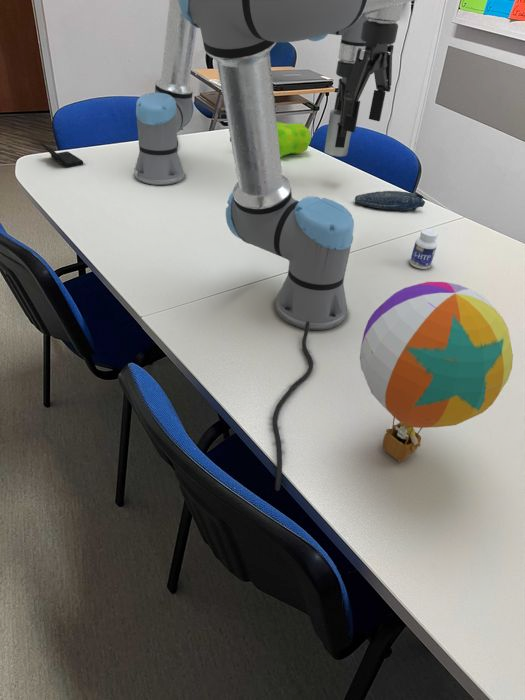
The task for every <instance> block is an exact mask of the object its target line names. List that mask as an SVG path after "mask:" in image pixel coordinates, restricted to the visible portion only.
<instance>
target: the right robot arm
mask: <svg viewBox="0 0 525 700" xmlns="http://www.w3.org/2000/svg"><path fill="white" fill-rule="evenodd" d="M413 1H414V0H178V2H179V6H180V9H181V12H182V14H183V16H184V17H185V19H186V20H188V21H189V22H190V23H191V24H192V25H193V26H195V27H197V29H199V30H200V33H201V39H202V43H203V49H204V52H205V54H206V55H208V56H209V57H210V58H212V59H213V60H214V61H216V66H217V71H218V77H219V82H220V88H221V93H222V100H223V104H224V109H225V115H226V121H227V127H228V131H229V139H230V138H231V142H230V144H231V148H232V154H233V160H234V165H235V170H236V174H237V175H236V176H237V180H238V181H237V183H236V184H235V185H234V187H233V189H232V191H231V193H230V194H229V196H228V199H227V202H226V203H227V204H228V205H227V207H225V220H226V224H227V227H228V229H229V231H230V232H231V234H232V235H234V236H235V238H238V239H239V240H242V242H244V243H246V244H249V245H252V246H255V247H257V248H259V249H262V250H264V251H266V252H269V253H270V254H273V255H276V256H278V257H281V258H282V259H284V260H288V261H289V262H288V263H289V264H288V270H287V271H288V272H287V275H286V278H285V279H284V282H283V283H282V285H281V287H280V290H279V291H278V294H277V296H276V300H275V311H276V313H277V315H278V316H279V317H280V318H281V319H282V320H283V321H284V322H286V323H287V324H289V325H291V326H293V327H296V328H300V329H304V331H303V332H304V333H303V336H302V341H301V347H302V351H303V353H304V355H305V357H306V358H307V361H308V368H307V371H306V372H305V373H304V374H303V375H302V376H301V377H299V378H298V379H297V380H296V381H295V382H293V384H292V385H291V386H290V387H289V388H288V390H287V391H286V392H285V393H284V395H283V396H282V397H281V398H280V399H279V401H278V403H277V404H276V406H275V408H274V411H273V414H272V430H273V433H274V434H273V435H274V439H275V443H276V445H275V446H276V474H275V484H274V489H275V491H276V492H279V491H280V490H281V486H282V474H283V473H282V472H283V451H282V449H283V447H282V441H281V435H280V432H279V427H278V419H279V418H278V417H279V414H280V410H281V408H282V406H283V404H285V401H287V399H288V398H289V397H290V395H292V393H293V392H294V391H295V389H297V387H298V386H299V385H300V384H302V383H303V382H304V381H305V380H307V378H308V377H309V376H310V375H311V374H312V371H313V368H314V361H313V358H312V356H311V354H310V353H309V350H308V348H307V339H308V335H309V330H310V331H324V330H325V331H326V330H329V329H333V328H336V327H337V326H339V325H340V324H342V323H343V322H344V320H345V318H346V315H347V310H348V305H347V297H346V292H345V286H344V280H345V275H346V271H347V267H348V262H349V257H350V253H351V247H352V244H353V242H354V241H353V240H354V230H355V229H354V228H355V221H354V218H353V215H352V214H351V211H349V210H348V208H346V207H345V206H344V205H342V204H340V202H339V203H338V202H337V201H334V200H332V199H329V198H325V197H322V198H320V197H318V196H308V197H304V198H303V197H302V199H300V200H298V199H295V198H293V194H292V185H291V182H290V180H289V178H288V177H286V176H285V175H284V174H283V171H282V170H283V169H282V161H281V157H280V150H279V140H278V131H277V122H278V120H277V113H276V103H275V92H274V83H273V82H274V81H273V73H272V63H271V53H270V52H271V50H272V49H273V48H274V47H275V46H276V44H277V43H293V42H300V41H306V40H308V39H311V38H315V37H319V36H323V35H326V34H328V35H331V34H330V33H334V32H337V31H340V30H343V29H346V28H348V27H350V26H352V25H353V24H354V23H356V22H357V21H358V19H359V18H360V17H361V16H362V15H365V17H366V18H367V20H365V21H364V22H363V27H362V33H361V39H362V40H363V41H365V42H366V47H365V49H361V48H359V49H358V51H357V55H356V60H355V63H354V66H353V69H352V72H351V75H350V77H349V80H348V83H347V86H346V89H345V92H344V95H343V97H344V99H347V100H348V102H347V108H346V115H345V121H344V127H343V130H346V131H350V132H351V133H355V132H356V128H357V122H358V116H359V112H360V107H361V106H360V105H361V101H360V100H359V99H360V98H361V95H362V94H363V91H364V89H365V87H366V85H367V83H368V81H369V79H370V76H371V75H374V76H373V77H374V81H375V82H374V83H375V88H376V89H374V90H373V94H372V98H371V104H370V110H369V115H368V120H371V121H375V122H381V117H382V112H383V107H384V104H385V103H384V102H385V97H386V93H389V92H390V91H391V89H392V87H391V86H392V81H393V80H392V78H393V76H392V75H393V55H394V54H393V52H394V44H395V42H396V40H397V35H398V29H399V25H398V22H399V21H400V20H401V17H402V11H403V7H404V4H406V3H410V2H413Z"/></svg>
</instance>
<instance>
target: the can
mask: <svg viewBox="0 0 525 700" xmlns="http://www.w3.org/2000/svg"><path fill="white" fill-rule="evenodd" d="M340 117H341V109H334V108H333V109H331V110H330V111H329V119H328V126H327V130H326V138H325V143H324V144H325V145H324V151H323V152H324V153H325V154H327V155H329V156H331V157H346V156H347V155H348V152H349V148H350V141H351V138H352V137H351V136H352V132H350V131H347V134H346V139H345V145H344V148H340V147H335V144H336V137H337V131H338V125H337V123H340Z"/></svg>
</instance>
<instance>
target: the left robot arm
mask: <svg viewBox="0 0 525 700" xmlns="http://www.w3.org/2000/svg"><path fill="white" fill-rule="evenodd" d="M167 10H168V11H167V21H166V28H165V39H164V47H163V48H164V49H163V57H162V58H163V59H162V69H161V77H160V78H158V79H157V80H156V81H155V84H154V85H155V87H154V92H149V94H148V93H145V94H143V95H141V96H139V97H138V98H137V100H136V103H135V105H136V106H135V107H136V108H135V116H136V125H137V126H136V127H137V137H138V156H137V160H136V164H135V167H134V168H133V173H134V176H135V179H136V180H137V181H139V182H141V183H144V184H148V185H153V186H169V185H174V184H177V183H179V182H181V181H183V179H184V178H185V174H184V173H185V171H184V168H183V165H182V162H181V159H180V156H179V153H178V147H179V141H178V133H179V132H180V131H183V130H184V128H185V127H186V126H187V125H188V124H189V123H190V122H191V120H192V118H193V115H194V112H195V111H194V110H195V108H194V107H195V106H194V102H193V93H194V89H193V87H192V86H191V85H190V79H191V74H192V73H191V72H192V65H193V57H194V53H195V52H194V51H195V44H196V43H195V42H196V36H197V29H198V28H197V27H195V26H193V25H192V24H191V23H190V22H189V21H188V20H186V19H185V17H184V16H183V14H182V12H181V9H180V6H179V2H178V0H169V1H168V9H167ZM365 20H367V18H366V17H365V15H362V16H361V17H360V18H359V19H358V21H357V22H356V23H354V24H353V25H352V26H350V27H348V28H346V29H343V30H340V31H337V32H334V33H330V34H326V35H323V36H319V37H315V38H311V39H307V40H309V41H311V42H319V41H321V40H323V39H325V38H326V37H327V36H328V35H335V36H341V39H340V43H339V51H338V56H337V57H338V59H339V60H338V61H337V65H336V70H335V74H336V76H338V77H340V78H339V79H338V84H337V85H338V86H337V93H336V97H335V98H336V99H335V103H334V107H333V110H334V109H341V117H340V123H337V125H338V131H337V137H336V144H335V147H340V148H344V145H345V139H346V134H347V131H346V130H343V127H344V121H345V115H346V108H347V102H348V100H347V99H344V97H343V95H344V92H345V89H346V86H347V83H348V80H349V77H350V75H351V72H352V69H353V66H354V63H355V60H356V55H357V51H358V49H359V48H361V49H365V47H366V42H365V41H363V40H362V39H361V33H362V27H363V22H364V21H365Z"/></svg>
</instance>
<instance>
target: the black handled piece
mask: <svg viewBox="0 0 525 700" xmlns="http://www.w3.org/2000/svg"><path fill="white" fill-rule="evenodd" d="M38 143H39V144H40V145H41V146H42V147H43V149H45V150H46V151H47V152H48V153H49V154H50V156H51V158H52V159H54V160H55V161H57V162H58V163H60V164H61V165H62V166H64V167H66V168H69V167H74V166H79V165H84V161H83V160H82V159H81V158H79V157H78V156H76V155H74V154H73V153H71V152H69V151H61V152H56V151H55V150H53V149H52V148H51V147H49V146H48V145H46V144H44V143H42V142H41V141H39V142H38Z"/></svg>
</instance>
